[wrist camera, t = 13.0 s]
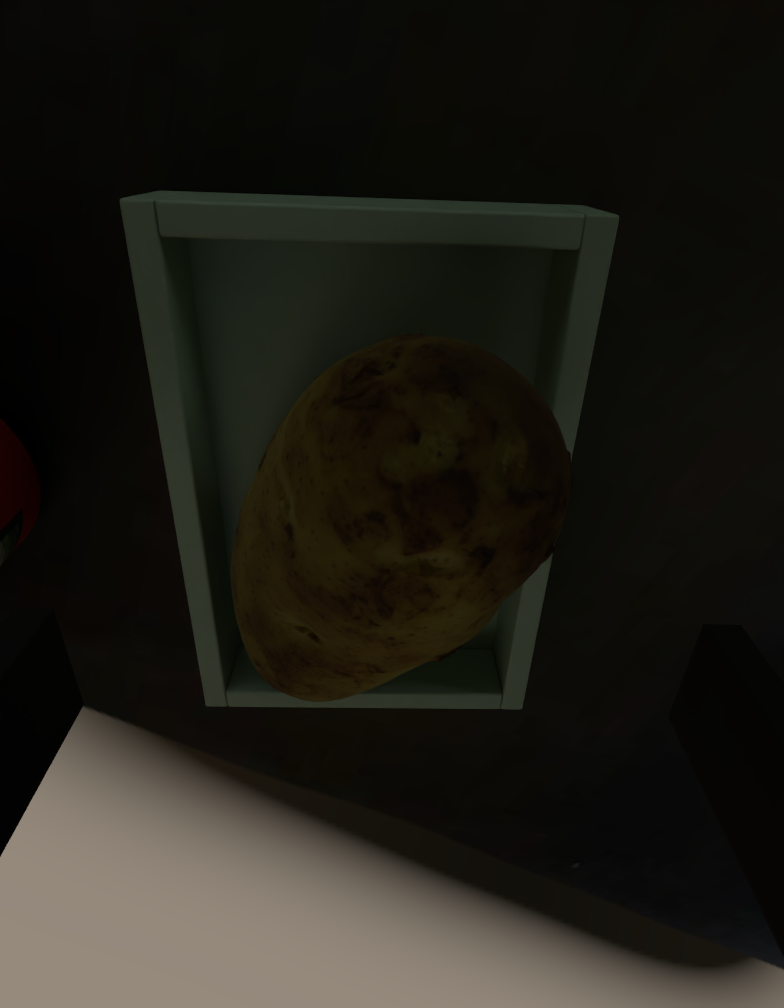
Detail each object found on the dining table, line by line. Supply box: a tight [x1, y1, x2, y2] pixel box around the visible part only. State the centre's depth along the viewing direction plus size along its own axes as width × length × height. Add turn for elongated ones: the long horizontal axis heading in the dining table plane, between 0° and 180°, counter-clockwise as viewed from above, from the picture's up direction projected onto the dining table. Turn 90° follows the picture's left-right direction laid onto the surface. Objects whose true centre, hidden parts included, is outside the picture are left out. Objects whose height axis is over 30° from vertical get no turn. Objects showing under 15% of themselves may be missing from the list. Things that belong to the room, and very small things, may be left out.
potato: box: [231, 333, 573, 702], centre depth 17 cm, size 8×13×8 cm, turn 135°
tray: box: [120, 191, 619, 709], centre depth 20 cm, size 12×17×3 cm
